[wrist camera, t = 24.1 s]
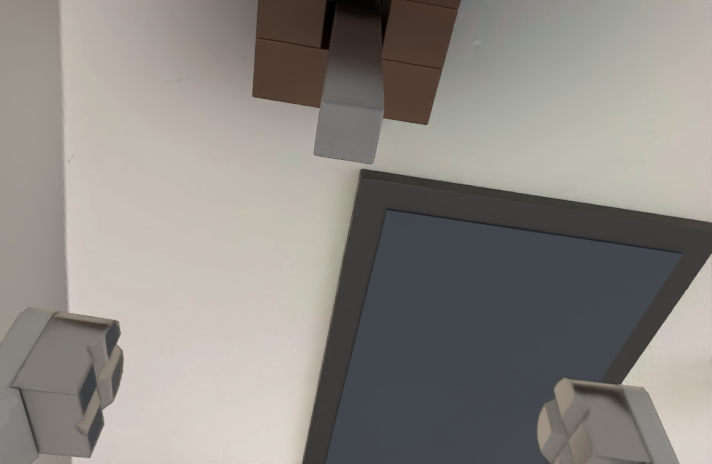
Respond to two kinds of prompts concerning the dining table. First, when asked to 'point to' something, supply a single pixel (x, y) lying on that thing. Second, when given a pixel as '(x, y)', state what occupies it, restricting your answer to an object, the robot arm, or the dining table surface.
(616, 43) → the dining table surface
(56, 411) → the robot arm
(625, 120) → the dining table surface
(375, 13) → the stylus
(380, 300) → the drawing tablet
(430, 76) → the brown block with hole
